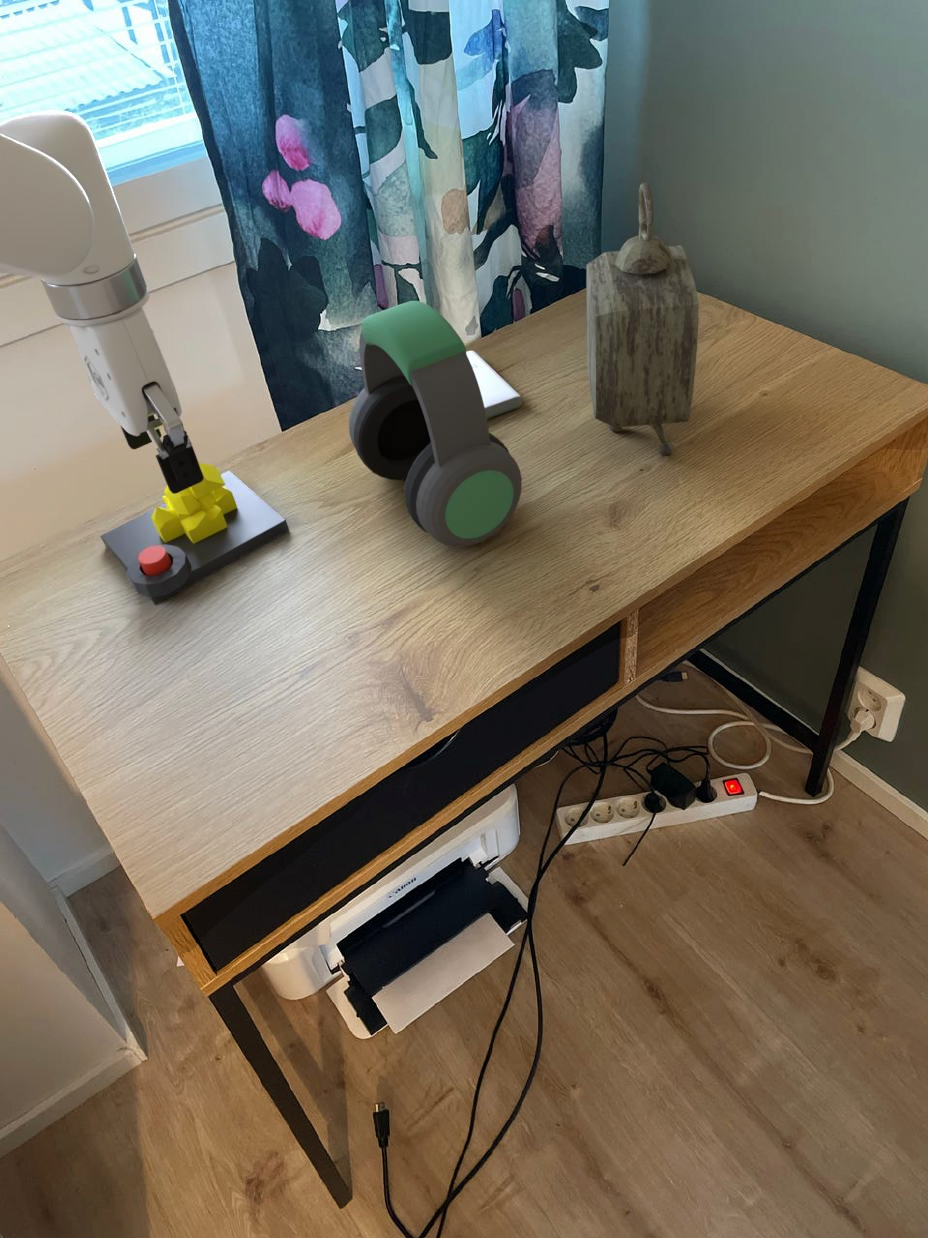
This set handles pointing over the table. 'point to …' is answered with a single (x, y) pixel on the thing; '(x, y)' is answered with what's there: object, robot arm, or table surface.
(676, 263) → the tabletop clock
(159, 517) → the yellow crystal cluster
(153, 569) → the tare button
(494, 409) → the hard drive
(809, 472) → the table surface
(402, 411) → the headphones
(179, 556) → the scale
